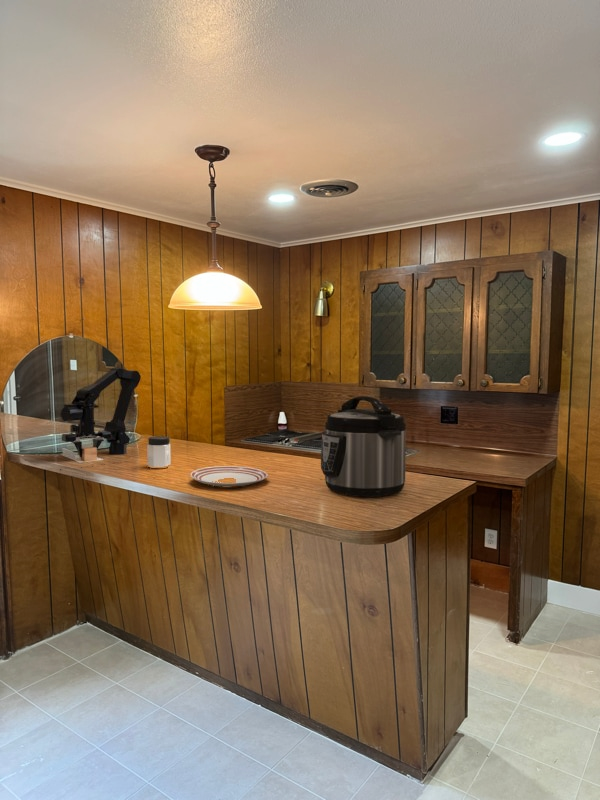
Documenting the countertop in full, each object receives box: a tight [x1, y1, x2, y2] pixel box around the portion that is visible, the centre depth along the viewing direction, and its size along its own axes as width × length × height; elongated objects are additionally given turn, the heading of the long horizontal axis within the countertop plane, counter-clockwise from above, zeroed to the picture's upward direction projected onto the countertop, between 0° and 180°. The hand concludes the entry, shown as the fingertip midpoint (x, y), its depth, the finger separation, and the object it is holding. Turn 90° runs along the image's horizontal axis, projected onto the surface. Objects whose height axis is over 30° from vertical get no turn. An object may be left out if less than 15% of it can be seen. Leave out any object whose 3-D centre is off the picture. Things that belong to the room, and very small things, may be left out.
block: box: [81, 445, 98, 462], centre depth 228 cm, size 5×5×5 cm
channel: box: [59, 447, 104, 463], centre depth 235 cm, size 24×10×4 cm, turn 41°
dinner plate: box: [189, 465, 269, 487], centre depth 198 cm, size 27×27×3 cm
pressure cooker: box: [320, 395, 407, 498], centre depth 187 cm, size 30×28×32 cm
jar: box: [146, 435, 171, 467], centre depth 222 cm, size 9×8×12 cm
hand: (87, 456), depth 229 cm, fingers closed on block, 5 cm apart
